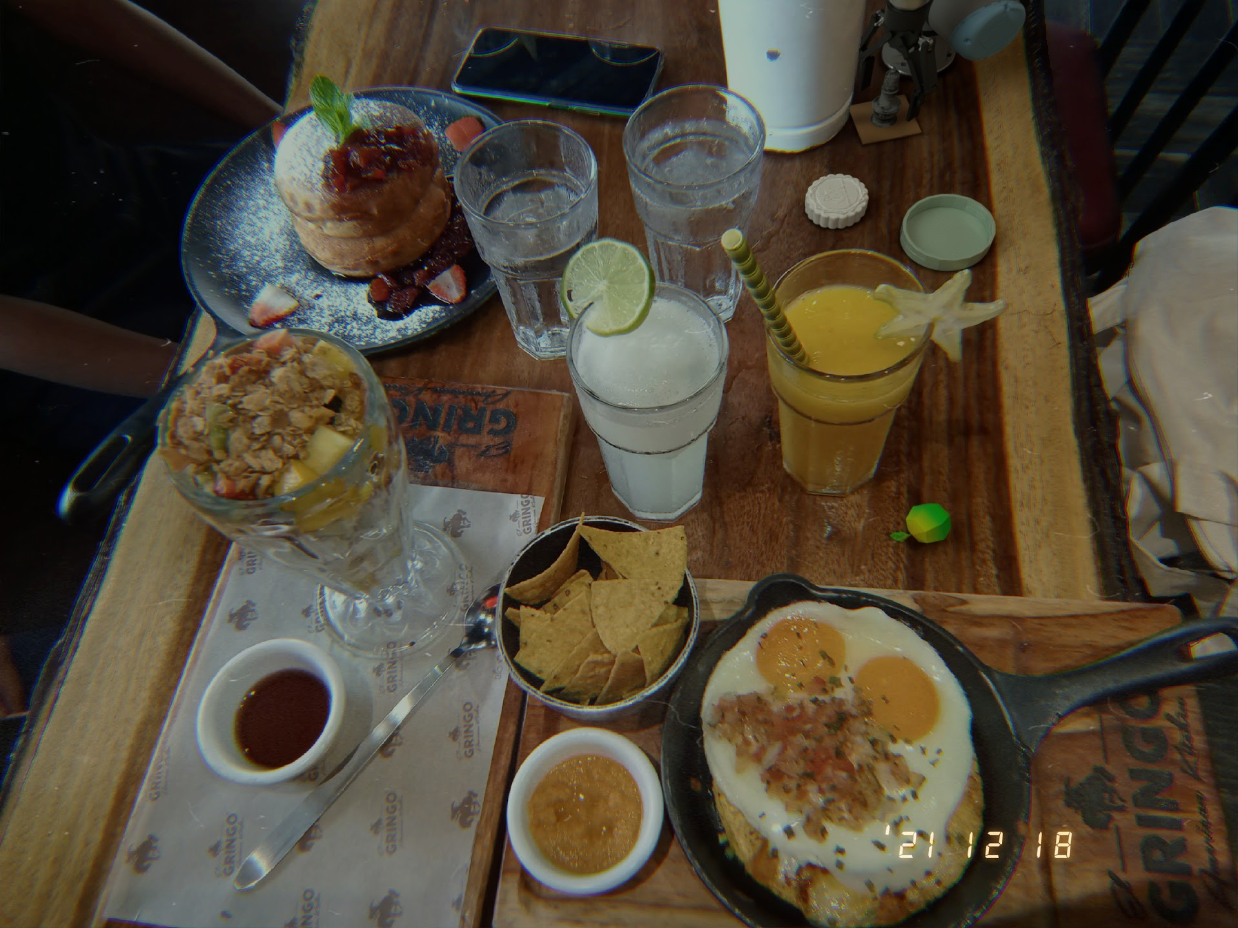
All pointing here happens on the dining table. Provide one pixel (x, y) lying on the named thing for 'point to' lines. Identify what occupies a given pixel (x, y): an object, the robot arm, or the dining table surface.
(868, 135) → the coaster
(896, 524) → the dining table surface
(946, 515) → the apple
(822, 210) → the mooncake
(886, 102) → the grey chess piece
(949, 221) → the green round tray
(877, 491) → the dining table surface
